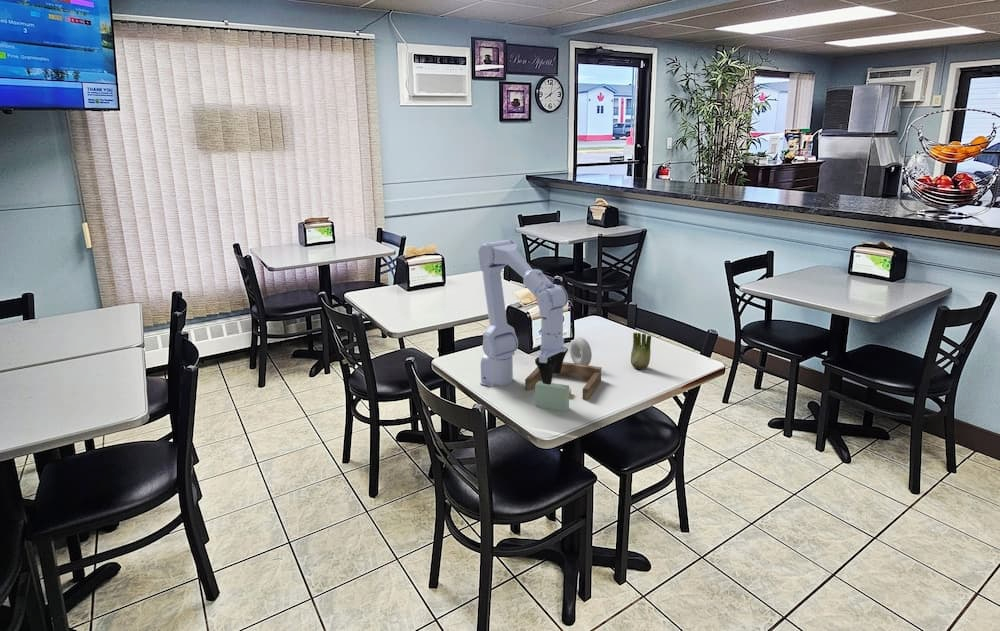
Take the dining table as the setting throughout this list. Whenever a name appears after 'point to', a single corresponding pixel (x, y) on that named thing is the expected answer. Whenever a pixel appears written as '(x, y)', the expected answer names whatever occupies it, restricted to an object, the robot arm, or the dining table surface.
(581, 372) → the frame
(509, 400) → the dining table surface
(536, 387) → the board
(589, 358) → the donut
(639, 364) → the fennel bulb
